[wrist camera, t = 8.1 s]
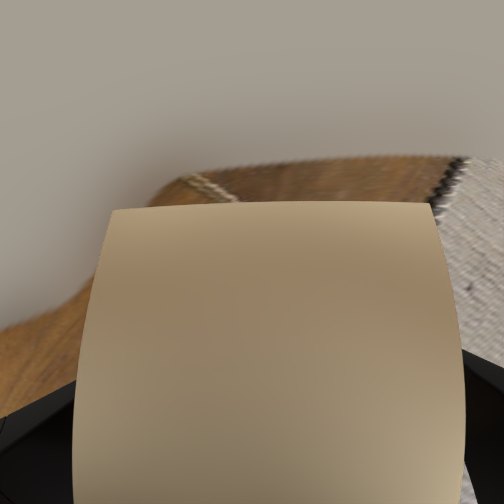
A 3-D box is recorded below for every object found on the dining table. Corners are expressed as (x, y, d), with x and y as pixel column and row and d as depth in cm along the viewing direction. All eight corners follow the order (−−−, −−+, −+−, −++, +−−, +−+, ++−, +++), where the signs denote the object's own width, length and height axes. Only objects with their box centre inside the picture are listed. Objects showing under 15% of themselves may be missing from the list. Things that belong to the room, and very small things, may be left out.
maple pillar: (327, 445, 12) (452, 537, 2) (224, 444, 13) (75, 524, 2) (327, 349, 15) (429, 203, 4) (229, 350, 15) (113, 210, 5)
